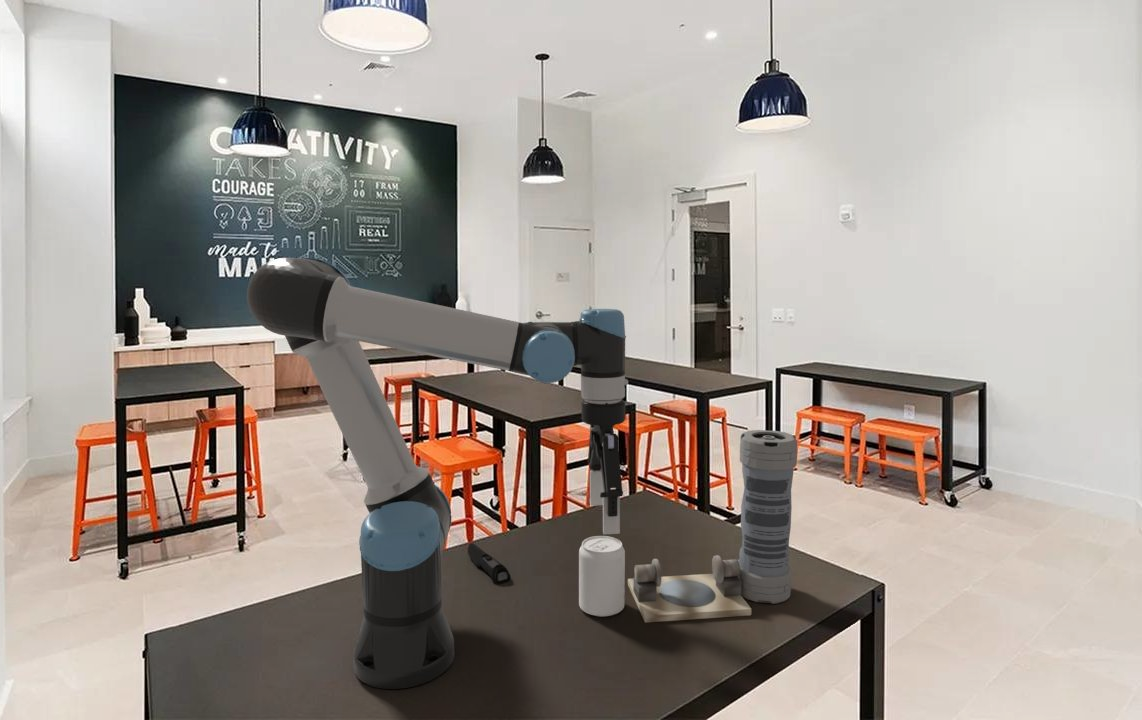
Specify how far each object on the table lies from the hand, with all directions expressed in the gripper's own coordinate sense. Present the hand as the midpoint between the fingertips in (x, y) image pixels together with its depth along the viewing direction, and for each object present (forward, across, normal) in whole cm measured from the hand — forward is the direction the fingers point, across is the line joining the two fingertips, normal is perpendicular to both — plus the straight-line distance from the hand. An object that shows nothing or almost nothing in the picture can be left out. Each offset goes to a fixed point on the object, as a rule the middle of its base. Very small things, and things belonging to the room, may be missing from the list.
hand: (604, 518), depth 117 cm
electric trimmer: (+17, +18, +21) cm, 33 cm away
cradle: (+17, +1, -15) cm, 23 cm away
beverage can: (+17, 0, +1) cm, 17 cm away
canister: (+17, +2, -30) cm, 35 cm away
